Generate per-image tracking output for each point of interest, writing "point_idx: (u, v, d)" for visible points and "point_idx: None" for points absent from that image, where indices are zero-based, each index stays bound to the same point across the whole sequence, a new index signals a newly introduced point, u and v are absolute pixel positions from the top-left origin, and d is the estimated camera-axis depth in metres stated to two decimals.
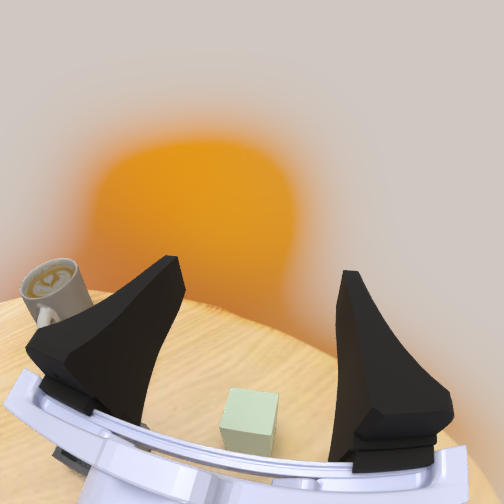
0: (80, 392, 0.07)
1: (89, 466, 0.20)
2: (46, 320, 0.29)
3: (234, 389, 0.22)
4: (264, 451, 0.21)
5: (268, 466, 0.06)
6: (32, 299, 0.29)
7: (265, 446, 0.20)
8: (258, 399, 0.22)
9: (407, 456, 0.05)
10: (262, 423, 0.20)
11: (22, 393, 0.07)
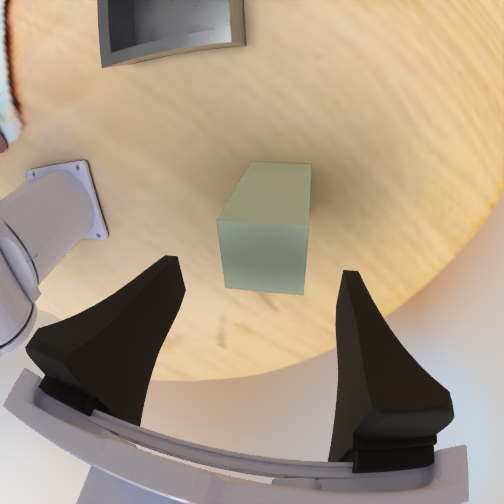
0: (80, 392, 0.07)
1: None
2: None
3: (303, 233, 0.12)
4: None
5: (268, 466, 0.06)
6: None
7: None
8: (287, 270, 0.14)
9: (407, 456, 0.05)
10: (242, 277, 0.15)
11: (22, 393, 0.07)
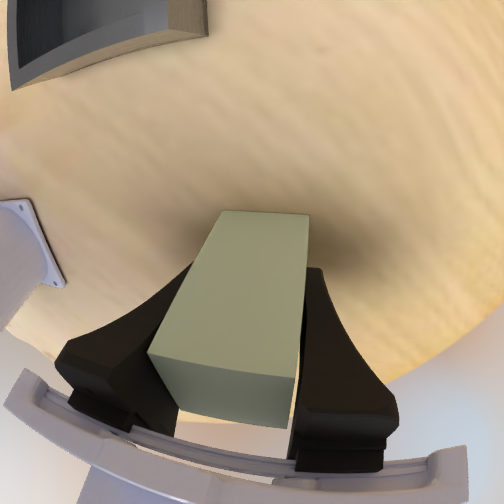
0: (117, 408, 0.07)
1: None
2: None
3: (286, 384, 0.07)
4: None
5: (268, 466, 0.06)
6: None
7: None
8: (262, 411, 0.08)
9: (352, 459, 0.06)
10: (200, 407, 0.09)
11: (22, 393, 0.07)
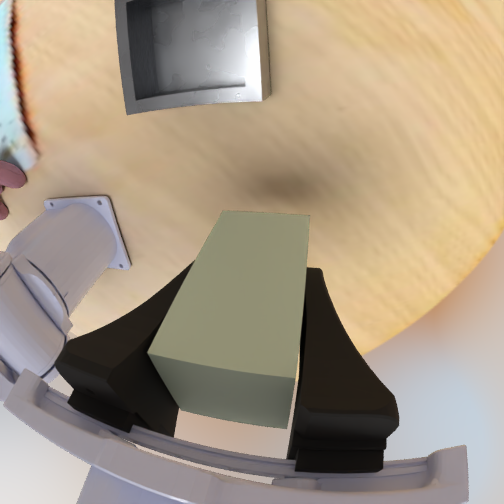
0: (118, 408, 0.07)
1: (161, 28, 0.14)
2: None
3: (286, 384, 0.07)
4: None
5: (268, 466, 0.06)
6: None
7: None
8: (263, 411, 0.08)
9: (352, 459, 0.06)
10: (200, 407, 0.09)
11: (22, 393, 0.07)
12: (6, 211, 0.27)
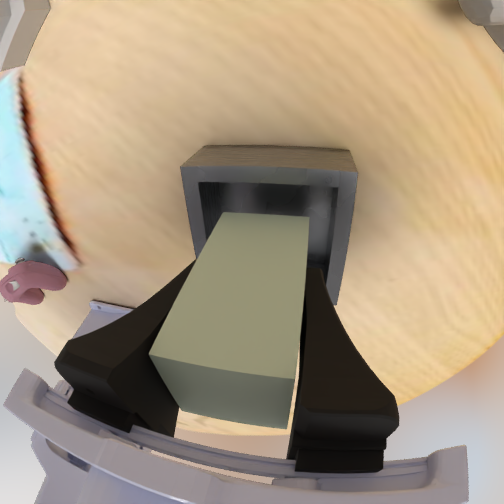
0: (117, 408, 0.07)
1: (229, 191, 0.17)
2: None
3: (286, 385, 0.07)
4: None
5: (268, 466, 0.06)
6: None
7: None
8: (263, 411, 0.08)
9: (352, 459, 0.06)
10: (201, 407, 0.09)
11: (22, 393, 0.07)
12: (42, 295, 0.30)
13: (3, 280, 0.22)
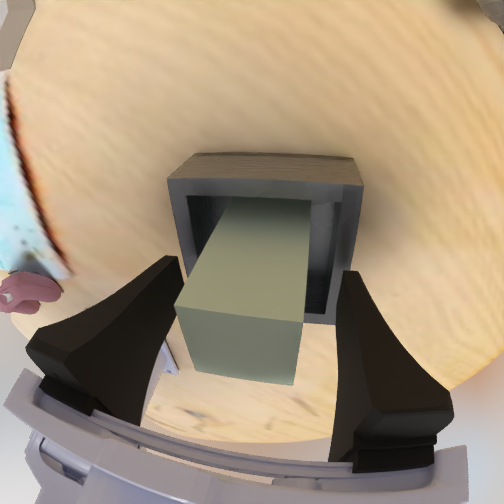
0: (80, 392, 0.07)
1: (222, 202, 0.16)
2: None
3: (295, 329, 0.09)
4: None
5: (268, 466, 0.06)
6: None
7: None
8: (272, 363, 0.10)
9: (407, 456, 0.05)
10: (215, 364, 0.11)
11: (22, 393, 0.07)
12: (37, 304, 0.29)
13: None
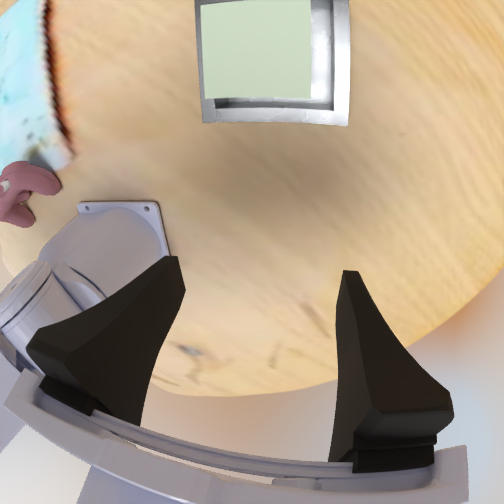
0: (80, 392, 0.07)
1: None
2: None
3: (304, 8, 0.07)
4: None
5: (268, 466, 0.06)
6: None
7: None
8: (287, 58, 0.09)
9: (407, 456, 0.05)
10: (228, 77, 0.09)
11: (22, 393, 0.07)
12: (32, 218, 0.27)
13: None
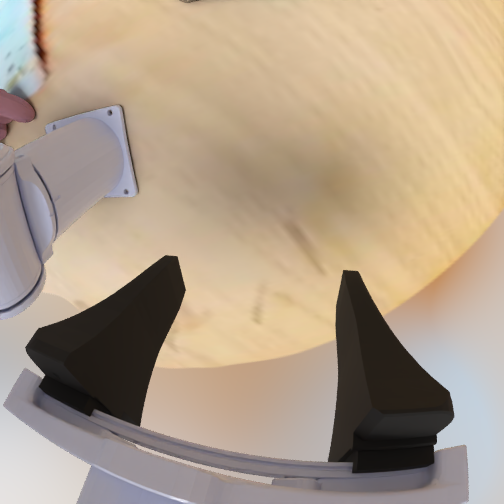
0: (80, 392, 0.07)
1: None
2: None
3: None
4: None
5: (268, 466, 0.06)
6: None
7: None
8: None
9: (407, 456, 0.05)
10: None
11: (22, 393, 0.07)
12: None
13: None
